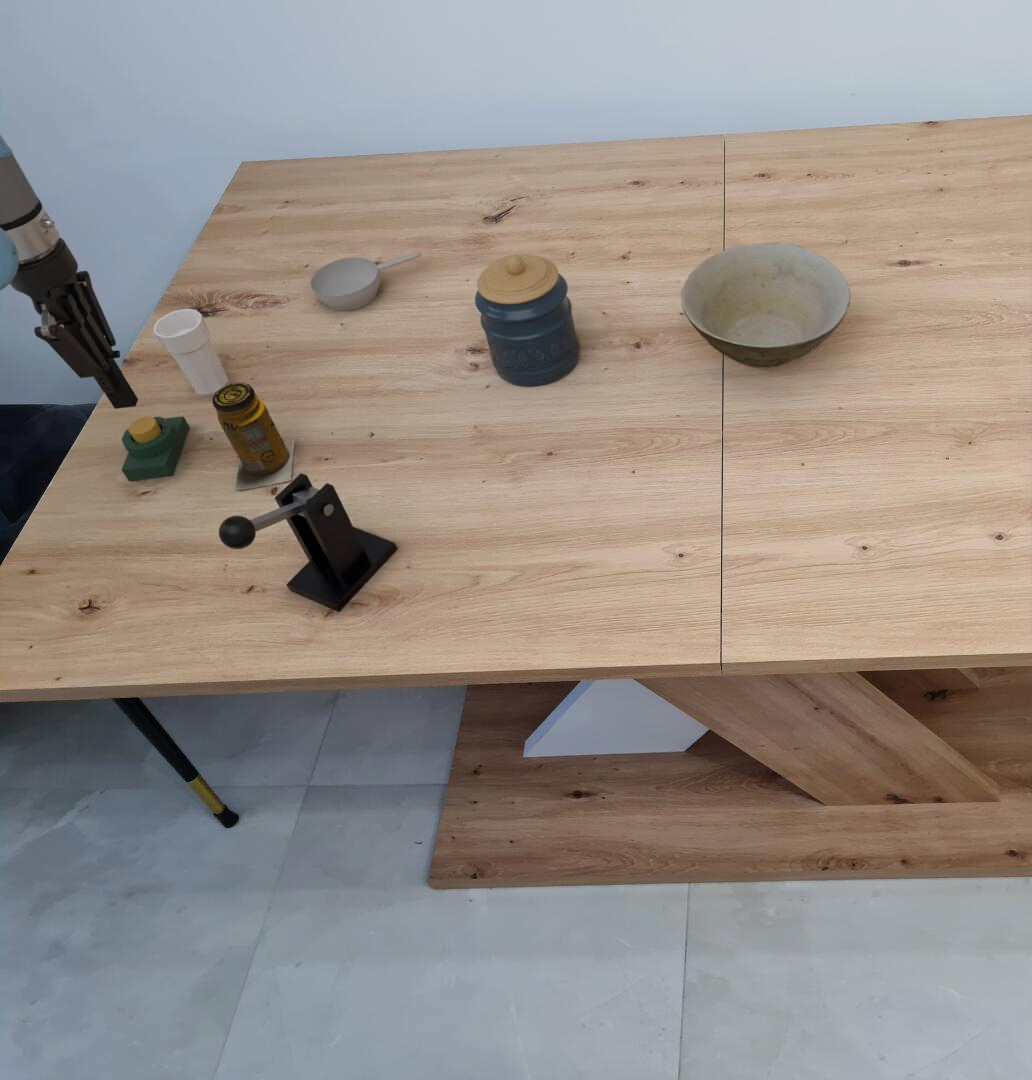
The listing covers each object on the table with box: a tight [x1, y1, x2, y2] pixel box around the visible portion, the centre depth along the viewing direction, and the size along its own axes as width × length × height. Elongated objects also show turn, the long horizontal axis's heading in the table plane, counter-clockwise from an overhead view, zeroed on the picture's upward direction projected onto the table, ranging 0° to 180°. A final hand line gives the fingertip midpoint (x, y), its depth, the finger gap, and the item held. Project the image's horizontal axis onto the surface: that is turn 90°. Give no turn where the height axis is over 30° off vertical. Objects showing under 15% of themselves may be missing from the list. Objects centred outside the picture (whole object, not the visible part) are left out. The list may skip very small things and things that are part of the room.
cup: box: [153, 308, 230, 395], centre depth 152 cm, size 7×7×11 cm
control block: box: [121, 415, 191, 482], centre depth 145 cm, size 10×6×4 cm, turn 6°
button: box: [128, 416, 161, 443], centre depth 143 cm, size 4×4×2 cm
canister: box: [474, 253, 581, 387], centre depth 148 cm, size 13×13×18 cm
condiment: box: [212, 382, 295, 491], centre depth 139 cm, size 7×8×12 cm
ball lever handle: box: [218, 486, 320, 550], centre depth 116 cm, size 13×4×4 cm, turn 152°
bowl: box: [680, 242, 851, 369], centre depth 149 cm, size 24×24×10 cm
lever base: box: [274, 472, 398, 613], centre depth 124 cm, size 11×8×14 cm
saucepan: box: [309, 250, 422, 311], centre depth 169 cm, size 11×18×4 cm, turn 114°
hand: (126, 403), depth 139 cm, fingers closed
